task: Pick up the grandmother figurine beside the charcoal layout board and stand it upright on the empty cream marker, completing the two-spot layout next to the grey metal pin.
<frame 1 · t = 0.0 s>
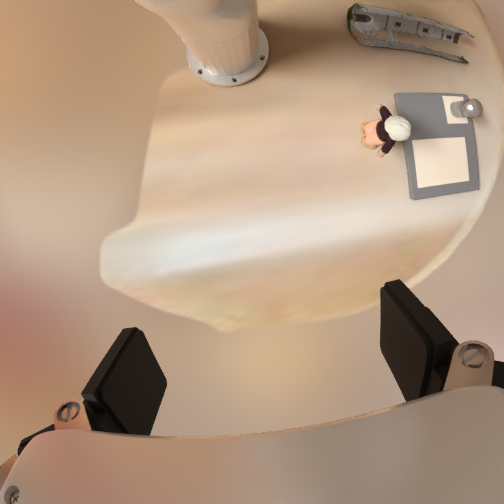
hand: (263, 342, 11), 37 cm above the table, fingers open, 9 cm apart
grandmother figurine: (368, 132, 41), on the table
layout board: (440, 143, 41), on the table
model building: (409, 38, 35), on the table
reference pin: (456, 109, 37), resting on layout board
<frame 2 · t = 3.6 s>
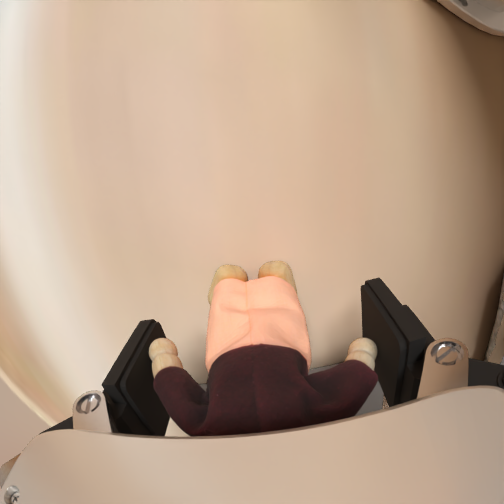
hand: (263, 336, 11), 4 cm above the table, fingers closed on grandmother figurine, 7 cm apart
grandmother figurine: (263, 286, 15), on the table, touching gripper
layout board: (260, 446, 19), on the table
model building: (488, 369, 18), on the table
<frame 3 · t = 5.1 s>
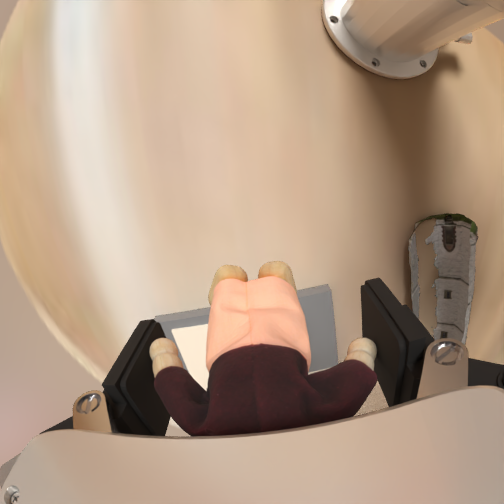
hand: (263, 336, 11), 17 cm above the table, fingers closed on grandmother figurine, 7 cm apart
grandmother figurine: (263, 286, 15), point 12 cm above the table, touching gripper
layout board: (254, 363, 31), on the table
model building: (428, 313, 30), on the table
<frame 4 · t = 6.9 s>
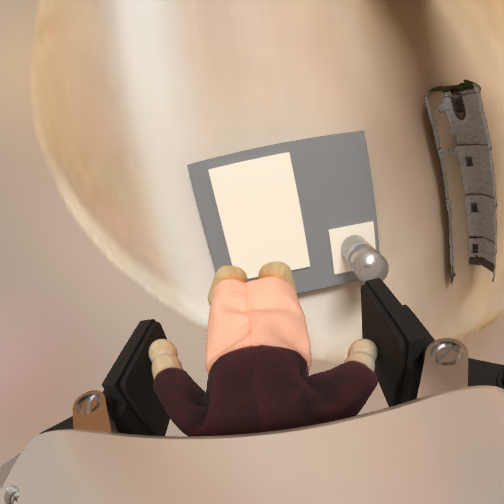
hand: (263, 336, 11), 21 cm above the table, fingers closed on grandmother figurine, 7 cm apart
grandmother figurine: (263, 287, 15), point 17 cm above the table, touching gripper
layout board: (291, 219, 31), on the table
model building: (455, 183, 29), on the table
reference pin: (354, 248, 30), resting on layout board
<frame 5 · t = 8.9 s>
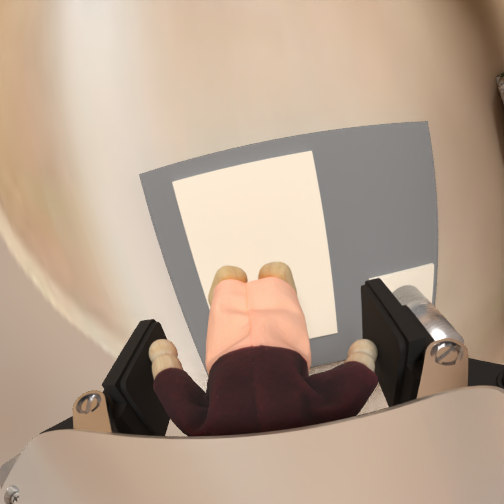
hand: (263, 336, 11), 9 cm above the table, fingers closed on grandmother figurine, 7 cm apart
grandmother figurine: (263, 287, 15), point 5 cm above the table, touching gripper
layout board: (310, 259, 19), on the table
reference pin: (403, 304, 18), resting on layout board
when the fingers open (7 cm above the table, at t = 10.4 s): grandmother figurine drops 1 cm, resting on layout board.
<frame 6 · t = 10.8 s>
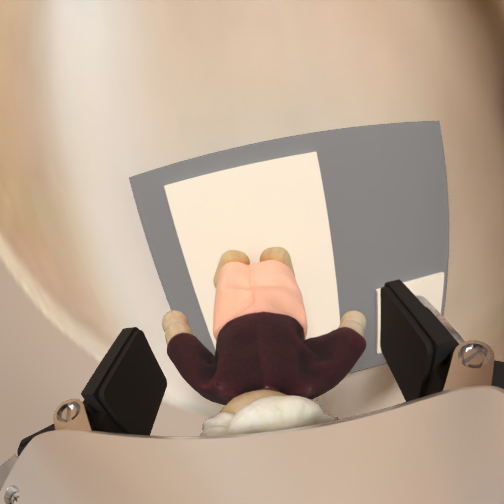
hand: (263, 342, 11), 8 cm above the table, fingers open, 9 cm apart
grandmother figurine: (264, 270, 16), point 2 cm above the table, touching layout board
layout board: (313, 269, 18), on the table
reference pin: (411, 315, 17), resting on layout board
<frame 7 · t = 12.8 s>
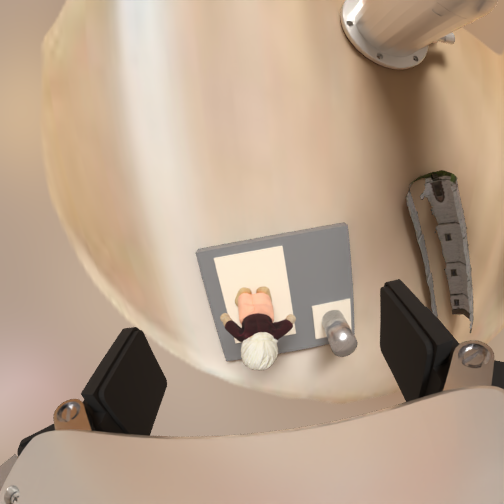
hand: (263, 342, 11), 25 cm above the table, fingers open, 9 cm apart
grandmother figurine: (257, 296, 36), point 2 cm above the table, touching layout board
layout board: (281, 295, 37), on the table
model building: (436, 256, 36), on the table
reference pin: (332, 319, 36), resting on layout board
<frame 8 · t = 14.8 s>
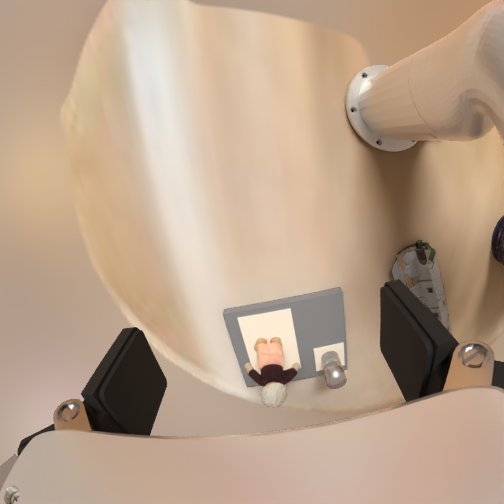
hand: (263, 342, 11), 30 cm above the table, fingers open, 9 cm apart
grandmother figurine: (271, 343, 45), point 2 cm above the table, touching layout board
layout board: (290, 340, 46), on the table
model building: (420, 303, 44), on the table
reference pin: (329, 357, 45), resting on layout board
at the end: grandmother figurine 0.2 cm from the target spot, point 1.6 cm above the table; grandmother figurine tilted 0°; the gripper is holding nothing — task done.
